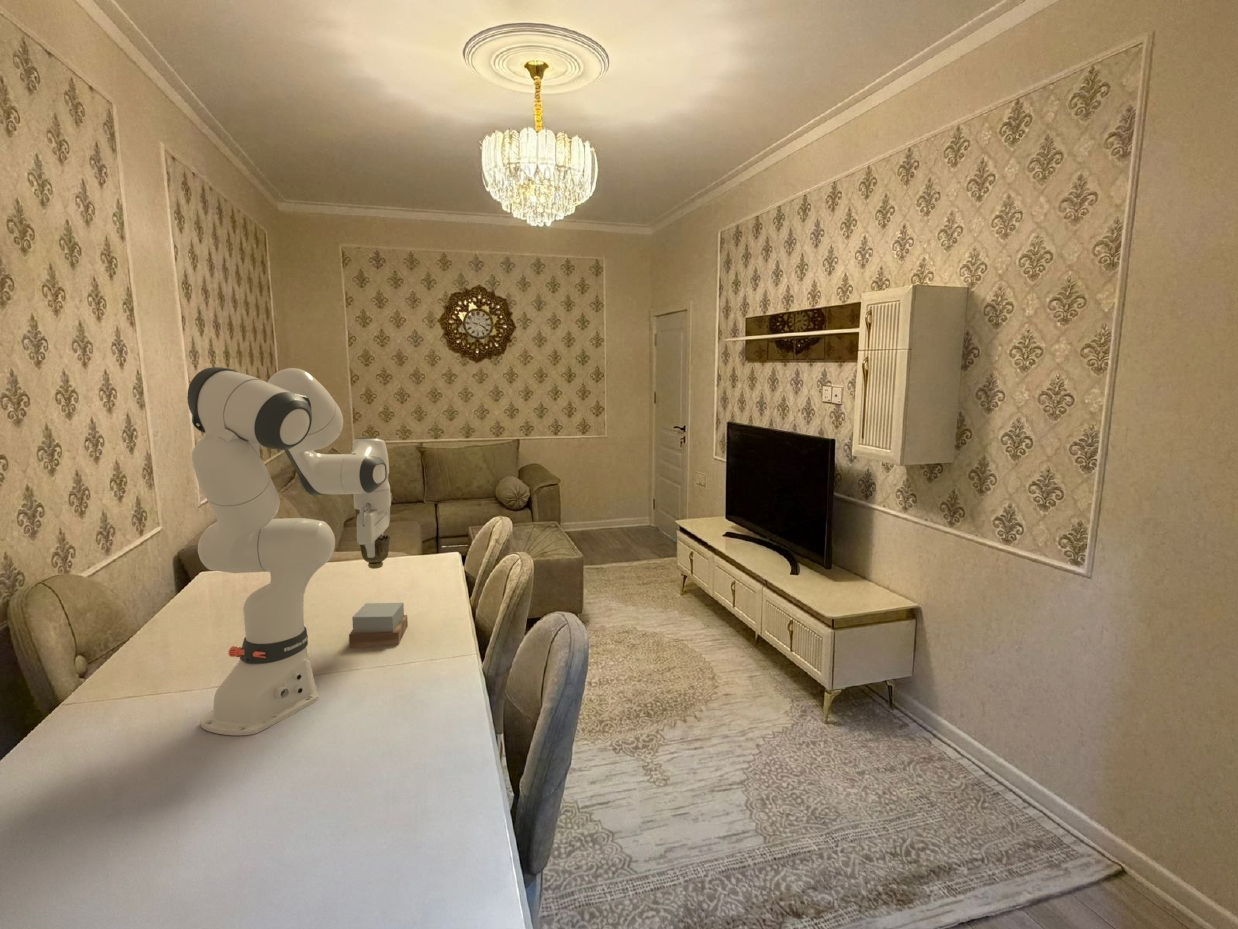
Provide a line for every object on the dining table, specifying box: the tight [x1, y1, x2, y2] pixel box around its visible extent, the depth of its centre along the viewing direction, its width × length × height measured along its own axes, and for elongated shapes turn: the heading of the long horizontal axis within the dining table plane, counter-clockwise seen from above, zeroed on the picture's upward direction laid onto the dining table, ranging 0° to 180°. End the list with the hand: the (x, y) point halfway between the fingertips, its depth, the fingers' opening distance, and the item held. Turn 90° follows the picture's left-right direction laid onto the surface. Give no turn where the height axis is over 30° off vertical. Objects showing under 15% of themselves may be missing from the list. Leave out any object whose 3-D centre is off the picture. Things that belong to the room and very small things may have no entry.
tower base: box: [348, 614, 409, 649], centre depth 167 cm, size 12×12×4 cm
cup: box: [359, 535, 391, 570], centre depth 164 cm, size 8×7×8 cm
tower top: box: [351, 602, 405, 632], centre depth 166 cm, size 10×10×4 cm
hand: (375, 552), depth 164 cm, fingers closed on cup, 6 cm apart
